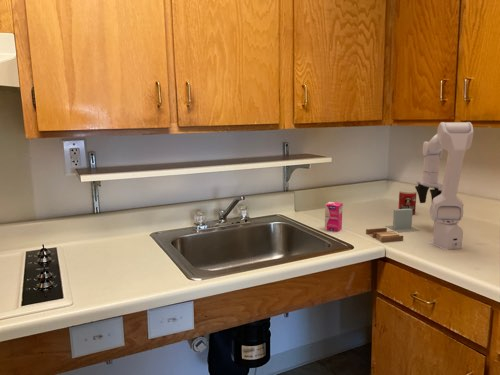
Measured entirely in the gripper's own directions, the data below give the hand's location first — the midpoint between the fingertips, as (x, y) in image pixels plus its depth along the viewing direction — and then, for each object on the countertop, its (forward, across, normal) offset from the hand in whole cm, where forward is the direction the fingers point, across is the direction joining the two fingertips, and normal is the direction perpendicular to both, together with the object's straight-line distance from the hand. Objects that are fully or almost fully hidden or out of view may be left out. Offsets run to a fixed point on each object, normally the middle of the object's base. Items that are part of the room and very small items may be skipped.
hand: (428, 204), depth 165 cm
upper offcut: (+9, +10, -24) cm, 27 cm away
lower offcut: (+10, +10, -24) cm, 28 cm away
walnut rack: (+10, +7, -24) cm, 27 cm away
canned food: (+11, -27, +9) cm, 30 cm away
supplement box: (+11, -8, -38) cm, 40 cm away
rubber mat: (+10, -2, -10) cm, 15 cm away
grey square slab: (+10, -2, -10) cm, 14 cm away
